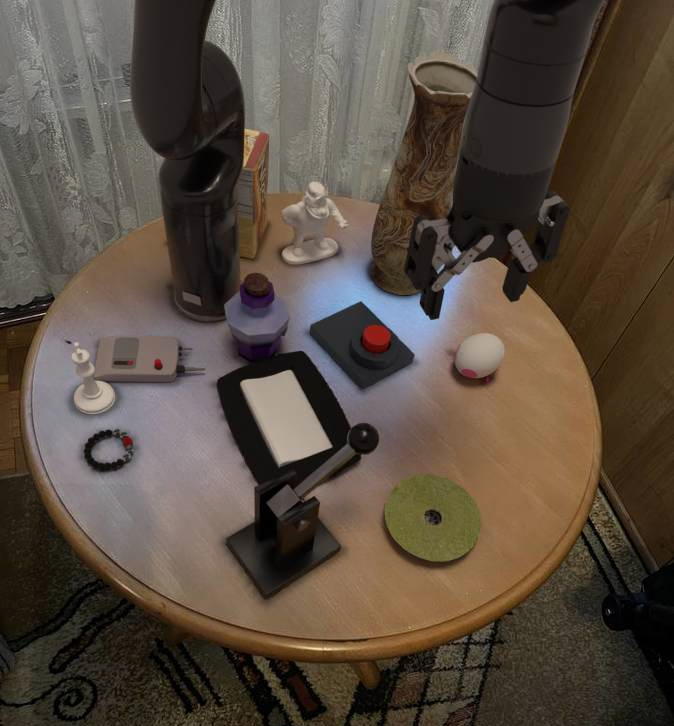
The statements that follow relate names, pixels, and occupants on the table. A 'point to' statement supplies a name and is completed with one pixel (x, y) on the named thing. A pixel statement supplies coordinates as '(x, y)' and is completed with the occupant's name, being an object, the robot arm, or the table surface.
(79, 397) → the chess piece
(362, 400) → the table surface
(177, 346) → the grey electronic device
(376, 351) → the red button
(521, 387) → the table surface
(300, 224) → the figurine
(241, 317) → the potion bottle
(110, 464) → the bracelet
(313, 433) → the light switch
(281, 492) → the switch lever
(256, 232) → the candy box
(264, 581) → the switch bracket
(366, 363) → the control box
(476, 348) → the stress ball
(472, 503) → the mat
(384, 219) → the vase
